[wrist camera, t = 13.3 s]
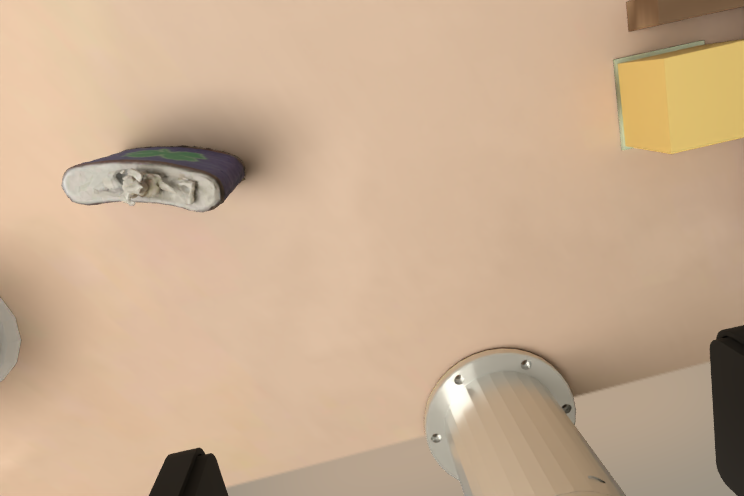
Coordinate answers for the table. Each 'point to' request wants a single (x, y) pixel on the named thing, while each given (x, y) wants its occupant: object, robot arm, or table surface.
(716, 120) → the cube
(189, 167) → the purple clover tin
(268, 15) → the table surface
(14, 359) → the french press
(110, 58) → the table surface
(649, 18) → the brown l-shaped piece
